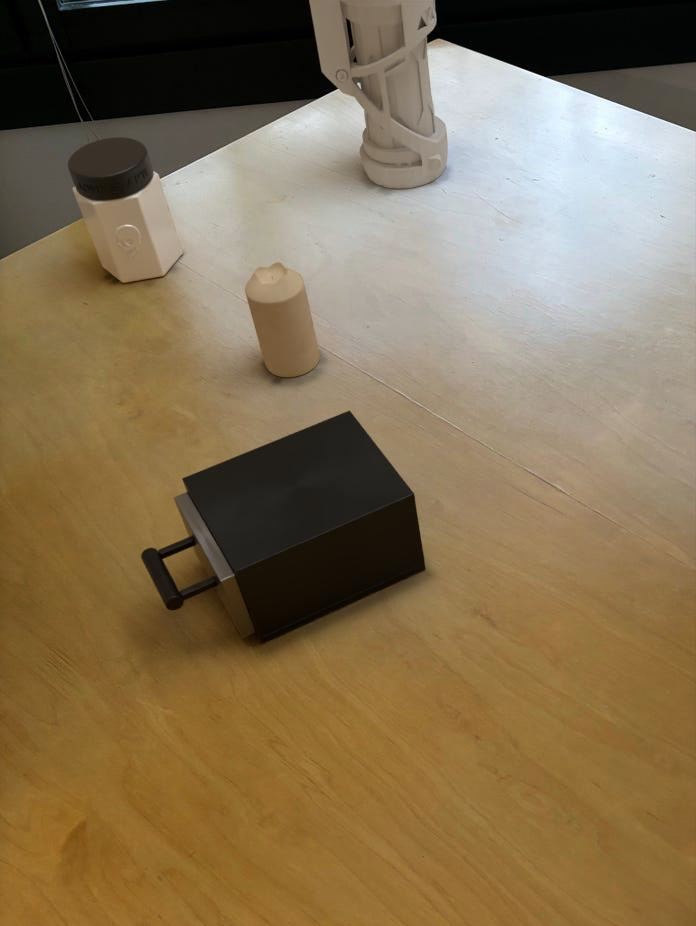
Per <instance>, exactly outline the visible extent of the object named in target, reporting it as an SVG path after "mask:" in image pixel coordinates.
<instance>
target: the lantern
mask: <svg viewBox="0 0 696 926" xmlns="http://www.w3.org/2000/svg"><path fill="white" fill-rule="evenodd" d="M308 1H309V7H310V13H311V18H312V24H313V30H314V36H315V41H316V47H317V53H318V58H319V64H320V70H321V73H322V74H323V75H324V76H325V77H326V78H327V79H328V80H329V81H330V82H331V83H332V84H333V85H334V86H335V87H336V88H337V89H338V90H339V91H340V92H341V93H342V94H344V95H348V96H351V97H352V98H354V99H355V100H356V102H357V103H358V104H359V105H360V107H361V108H362V109H363V115H364V123H365V128H364V129H363V131H362V135H361V137H362V143H361V145H360V147H359V156H360V160H361V163H362V168H363V169H364V171H365V173H366V176H367V177H368V179H369V180H370V181H371V182H372V183H374V184H375V185H378V186H380V187H383V188H387V189H397V190H401V189H402V190H403V189H412V188H417V187H422V186H425V185H427V184H430V183H431V182H433V181H435V180H437V179H438V178H439V177H440V176H441V175H442V174H443V173H444V172H445V169H446V167H447V161H448V148H449V142H448V132H447V125H446V122H444V120H442V119H441V118H440V117H438V116H437V115H436V114H435V108H434V107H435V106H434V102H433V96H432V88H431V79H430V78H431V77H430V68H429V57H428V35H430V34H431V32H432V31H433V30H434V29H435V27H436V25H437V12H436V0H308ZM347 20H348V21H349V23H350V29H351V36H352V42H353V45H352V47H351V44H350V38H349V32H348V24H347ZM355 58H356V62H354V60H355Z"/></svg>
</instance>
